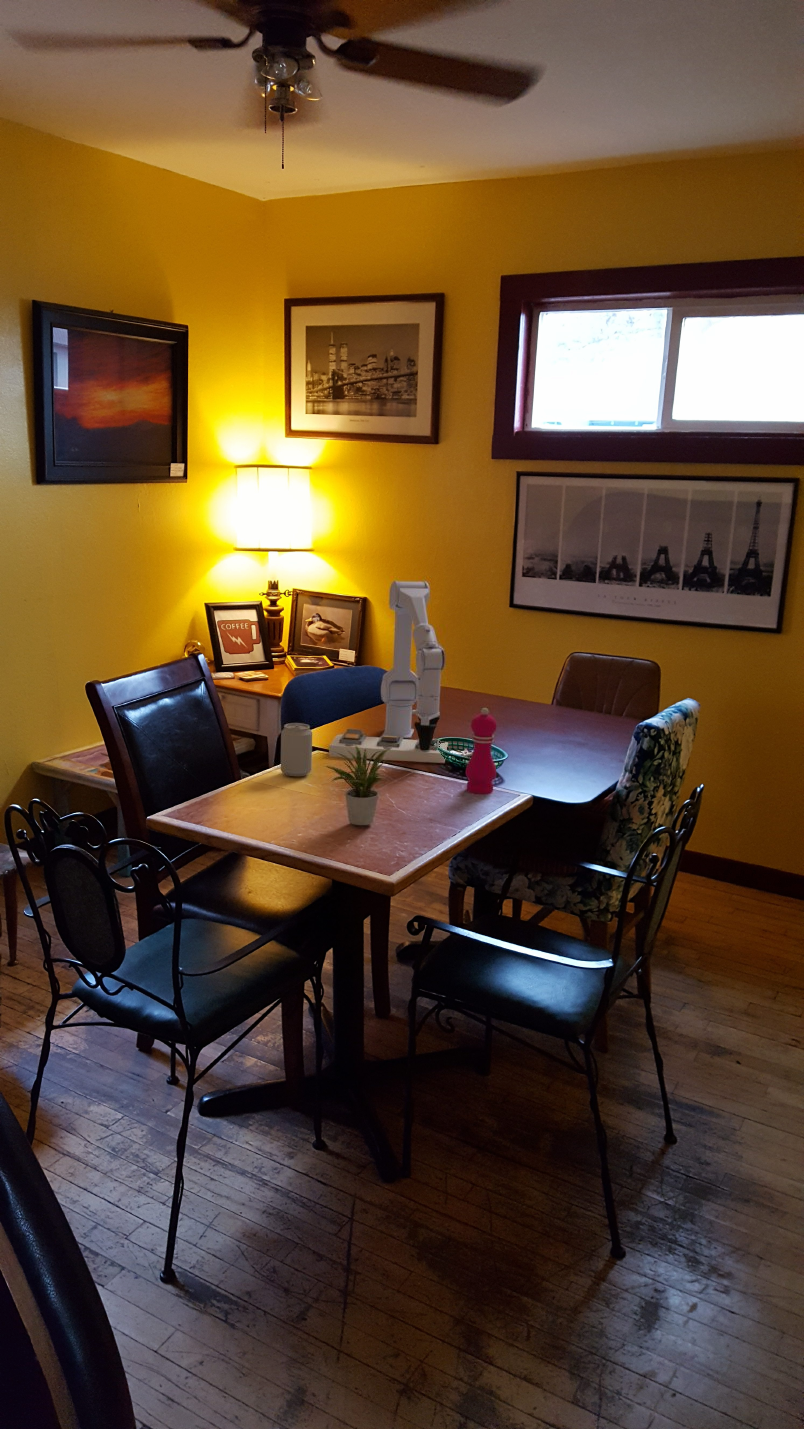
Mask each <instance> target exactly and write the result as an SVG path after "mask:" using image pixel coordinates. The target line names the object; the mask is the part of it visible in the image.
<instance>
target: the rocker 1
mask: <svg viewBox="0 0 804 1429" xmlns="http://www.w3.org/2000/svg"><path fill="white" fill-rule="evenodd" d="M344 733H345V736H344V740H358V741H359V740H360V738H361V735H362V734H363V730H362V729H353V728H352V729H351V728H347V729H346V732H344Z"/></svg>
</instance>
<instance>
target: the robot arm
mask: <svg viewBox="0 0 804 1429" xmlns="http://www.w3.org/2000/svg"><path fill="white" fill-rule="evenodd" d="M430 590H431V588H430V585H429V583H428V582H427V581H425V580H423V581H402V580H401V581H400V580H399V581H398V580H394V581H392V583H390V587H389V592H388V594H389V596H388V597H389V600H388V605H389V609H390V610H393V611H394V632H393V633H394V635H393V636H394V638H393V640H394V641H393V659H392V660H393V661H392V662H393V663H392V668H391V669H390V670H388V671H387V672H385V673H384V674H383V675H382V680H381V685H380V697H381V701H382V702H384V704H386V705H385V706H386V708H385V710H386V712H385V729H384V731H383V733H382V735H394V736H399V737H403V739H411V738H412V736H413V733H414V731H415V730H416V733H417V736H418V738H419V745H420V750H425V751H429V748H430V744H431V740H432V739H433V738H434V734H435V730H436V728H437V727H438V724H437V723H438V722H439V720H440V718H441V716H440V715H441V714H440V713H441V712H440V696H441V679H442V678H441V677H442V671H443V670H444V668H445V666H446V655H445V654H446V653H445V650H444V648H443V647H442V646H441V644H439V642H438V639H437V636H436V632H435V628H434V627H433V626H432V625H430V624H429V620H428V612H427V605H428V602H429V601H430V599H431V597H430V596H431V591H430ZM413 627H414V628H413ZM412 638H413V642H414V646H415V649H416V650H415V651H416V655H415V666H416V673H414V671H412V670H411V658H412V657H411V656H412V654H411V652H412ZM415 703H416V709H413V705H415ZM412 715H416V716H417V720H418V721H415V722H414V725H413V726H414V728H415V729H414V728H412ZM418 738H417V739H418Z"/></svg>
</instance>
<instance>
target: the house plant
mask: <svg viewBox="0 0 804 1429" xmlns="http://www.w3.org/2000/svg"><path fill="white" fill-rule="evenodd" d="M355 748H356V753H357V758H356V757H355V756H354V755H353V754H352V753H351V752H350V751H349V753H350V754H351V755H352V756H353V758H352V759H354V762H355V765H354V764H353V762H352V760H350V758H347V757H346V756H344V755H342V754H340V753H337V754H339V755H341V756H343V757H339V756H338V757H335V759H337V760H339V761H341V762H343V763H344V764H345V765H346V767H347V768H349V770H350V771H348V772H347V771H345V770H343V769H341V768H338V767H335V766H329V765H325V767H326V768H328V769H330V770H331V772H333V773H336V774H337V775H338V776H336V777H334V778H333V779H332V780H331V783H332V782H335V781H337V780H344V781H345V782H346V783H347V784H348V785H349V787H351V788H350V789H347V790H345V792H344V796H345V802H346V811H347V818H348V819H347V820H348V822H349V823H350V824H352V825H355V826H368V825H371V824H373V822H374V818H375V813H376V809H377V805H378V804H377V803H378V800H379V799H378V798H379V791H377V790H375V789H372V788H373V787H374V785H375V784H376V783H378V782H380V781H387V783H390V781H389V780H388V779H385V778H382V777H380V776H381V775H383V776H385V774H384V773H383V772H382V773H381V772H378V771H379V769H380V768H381V767H382V766H383V765H384V764H385V763H386V761H388V760H387V759H386V760H384V761H383V760H382V758H383V757H384V756H385V755H384V754H385V752H386V751H388V750H390V749H386V750H384V751H382V752H381V751H378V752H381V753H380V754H379V755H378V756H377V757H376V758H375V759H372V758H373V757H374V756H375V755H376V753H378V752H376V753H374V754H373V755H372V757H371V758H370V759H369V761H368V764H367V760H368V759H367V753H366V749H365V750H364V756H363V758H361V753H360V750H359V748H358V747H357V746H356V745H355ZM391 749H392V748H391ZM331 752H332V751H331ZM334 753H336V752H334ZM383 755H384V756H383ZM381 757H382V758H381ZM340 758H341V759H340ZM380 758H381V759H380ZM342 759H343V760H345V761H343V760H342ZM372 760H373V762H372ZM381 761H383V762H382V763H381ZM371 762H372V764H371ZM380 763H381V764H380ZM370 765H371V767H370ZM352 768H353V769H352ZM369 768H370V770H369V773H368V769H369Z"/></svg>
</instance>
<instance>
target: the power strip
mask: <svg viewBox="0 0 804 1429" xmlns="http://www.w3.org/2000/svg"><path fill="white" fill-rule="evenodd" d="M345 733H346V732H344V733H343V734H337V735H336V736H335V737H334V738H333V740H332V741H331V742H330V744H329V745H328V747H329V748H328V756H329V757H331V758H332V757H333V758H341V757H342V758H344V757H343V756H341V755H339V754H337V753H340V754H342V755H344V756H346V757H347V758H348V759H354V758H353V756H352V755H351V754H350V753H349V751H350V752H351V753H352V754H353V755H354V756H355V757H356V758H357V753H356V748H355V745H356V746H357V747H358V748H359V750H360V753H361V759H363V756H364V750H365V749H366V753H367V760H370V758H371V757H372V755H373V754H374V753H376V752H378V751H381V752H382V751H384V750H386V749H390V750H388V751H386V752H385V754H384V755H385V756H384V755H383V756H384V757H383V758H382V757H381V758H382V760H381V761H383V760H384V761H385V760H386V759H387V760H386V761H402V762H415V763H416V762H417V763H418V762H419V763H432V764H433V763H436V764H438V763H439V764H445V761H446V758H445V759H444V757H443V756H442V755H441V753H440V752H439V751H438V746H440V748H442V749H444V750H447V747H448V748H449V742H447V741H444V742H445V743H441V744H440V743H439V741H440V742H441V739H439V738H438V739H437V740H436V742H437V743H436V746H435V745H434V744H430V748H429V751H425V750H420V745H419V738H417V739H409V738H403V737H399V740H398V741H397V742H396V741H382V740H381V737H382V736H383V735H380V737H378V736H367V734H366V733H362V735H361V738H360V740H359V741H358V740H344V736H345ZM439 744H440V745H439ZM391 748H392V749H391ZM331 751H332V752H331ZM334 752H336V753H334ZM381 752H378V753H376V755H375V756H374V757H373V758H372V760H375V758H376V757H377V756H378V755H379V754H380V753H381ZM338 756H339V757H338ZM381 758H380V759H381Z"/></svg>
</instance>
